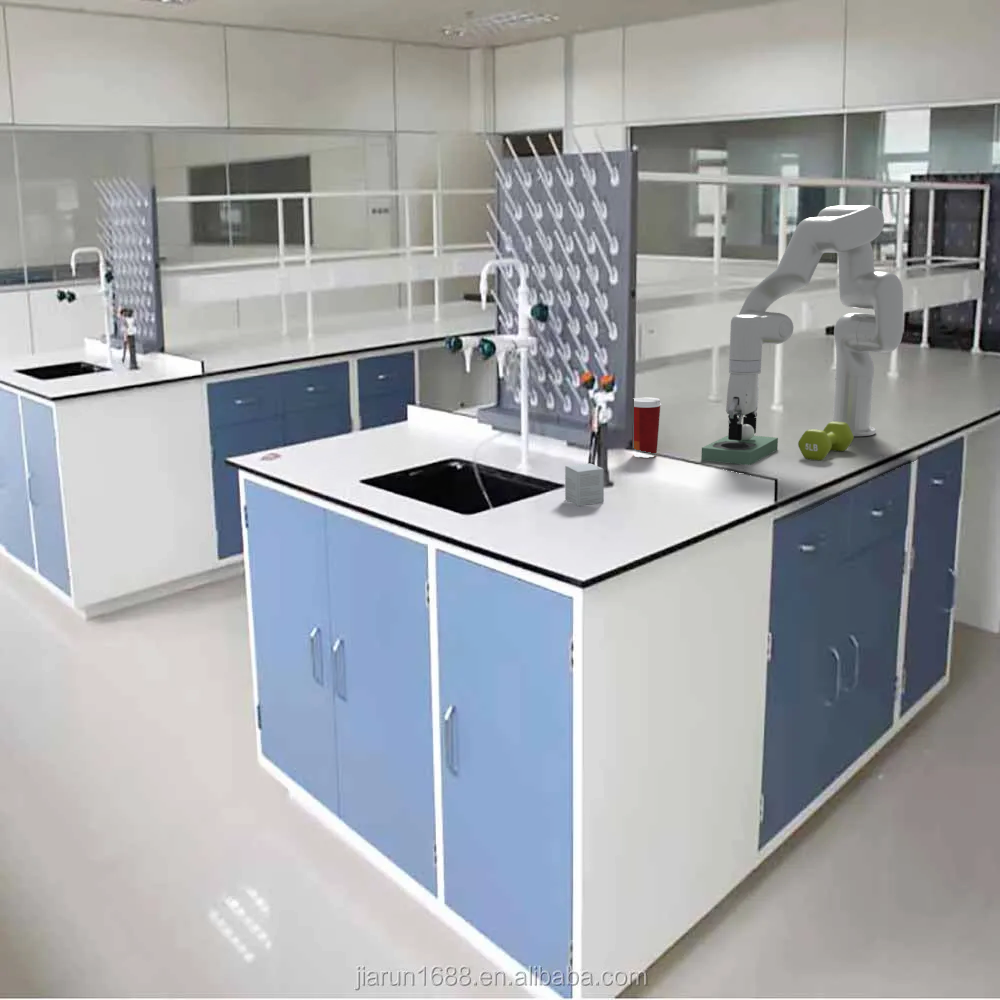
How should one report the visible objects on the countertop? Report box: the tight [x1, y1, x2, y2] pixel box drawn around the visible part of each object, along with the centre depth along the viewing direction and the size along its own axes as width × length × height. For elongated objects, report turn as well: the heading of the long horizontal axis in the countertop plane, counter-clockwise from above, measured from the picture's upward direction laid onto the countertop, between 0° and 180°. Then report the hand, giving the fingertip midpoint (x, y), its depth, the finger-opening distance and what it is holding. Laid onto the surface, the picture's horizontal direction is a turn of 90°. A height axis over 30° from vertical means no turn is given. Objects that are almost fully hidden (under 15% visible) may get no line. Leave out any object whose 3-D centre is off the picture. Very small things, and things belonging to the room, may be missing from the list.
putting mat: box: [700, 435, 779, 466], centre depth 260 cm, size 20×12×3 cm, turn 147°
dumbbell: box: [797, 420, 855, 461], centre depth 258 cm, size 16×8×7 cm, turn 138°
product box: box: [564, 462, 605, 507], centre depth 219 cm, size 6×6×7 cm
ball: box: [742, 424, 755, 440], centre depth 262 cm, size 4×4×4 cm
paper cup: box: [633, 396, 663, 453], centre depth 259 cm, size 8×8×14 cm
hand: (742, 436), depth 260 cm, fingers open, 9 cm apart
